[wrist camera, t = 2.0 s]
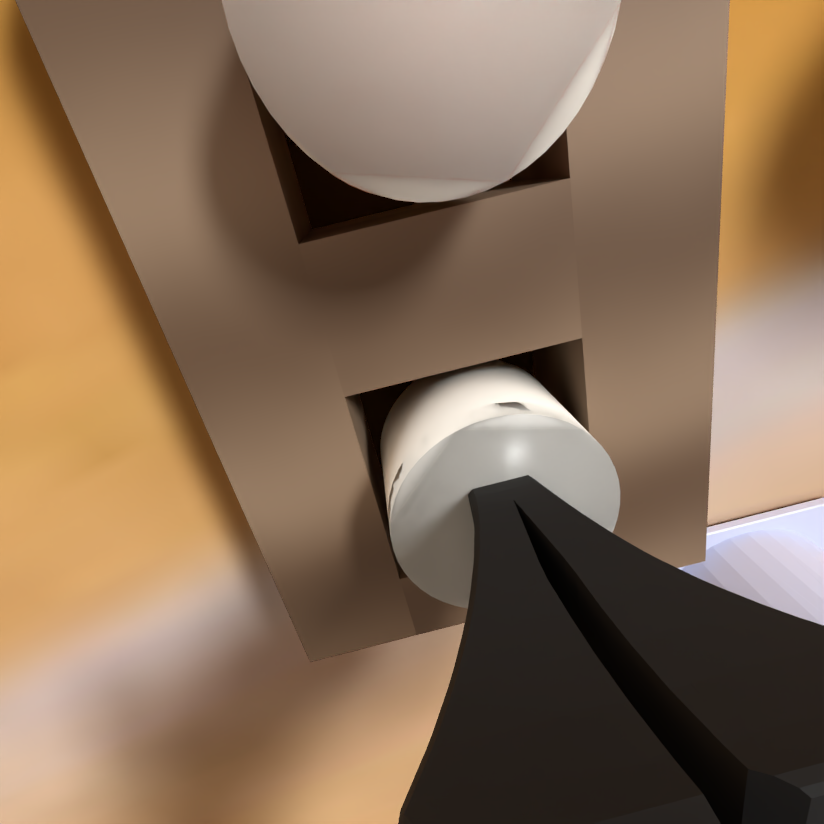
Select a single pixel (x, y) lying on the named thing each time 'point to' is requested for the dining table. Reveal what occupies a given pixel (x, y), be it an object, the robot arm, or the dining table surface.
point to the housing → (410, 285)
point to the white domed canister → (479, 465)
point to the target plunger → (423, 84)
